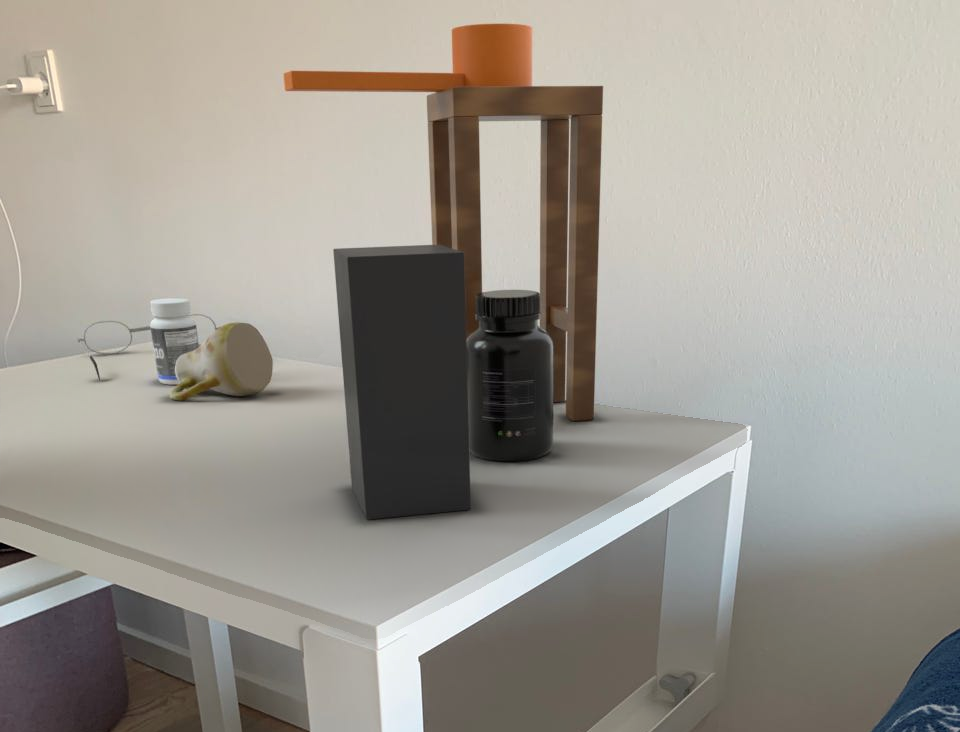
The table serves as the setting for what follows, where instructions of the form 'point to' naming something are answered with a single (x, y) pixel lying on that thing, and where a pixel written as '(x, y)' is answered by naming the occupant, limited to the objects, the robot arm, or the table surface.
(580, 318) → the tall stand
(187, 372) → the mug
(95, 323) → the eyeglasses
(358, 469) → the charcoal tower block
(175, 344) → the pill bottle
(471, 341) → the supplement bottle
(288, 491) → the table surface
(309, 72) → the measuring cup
